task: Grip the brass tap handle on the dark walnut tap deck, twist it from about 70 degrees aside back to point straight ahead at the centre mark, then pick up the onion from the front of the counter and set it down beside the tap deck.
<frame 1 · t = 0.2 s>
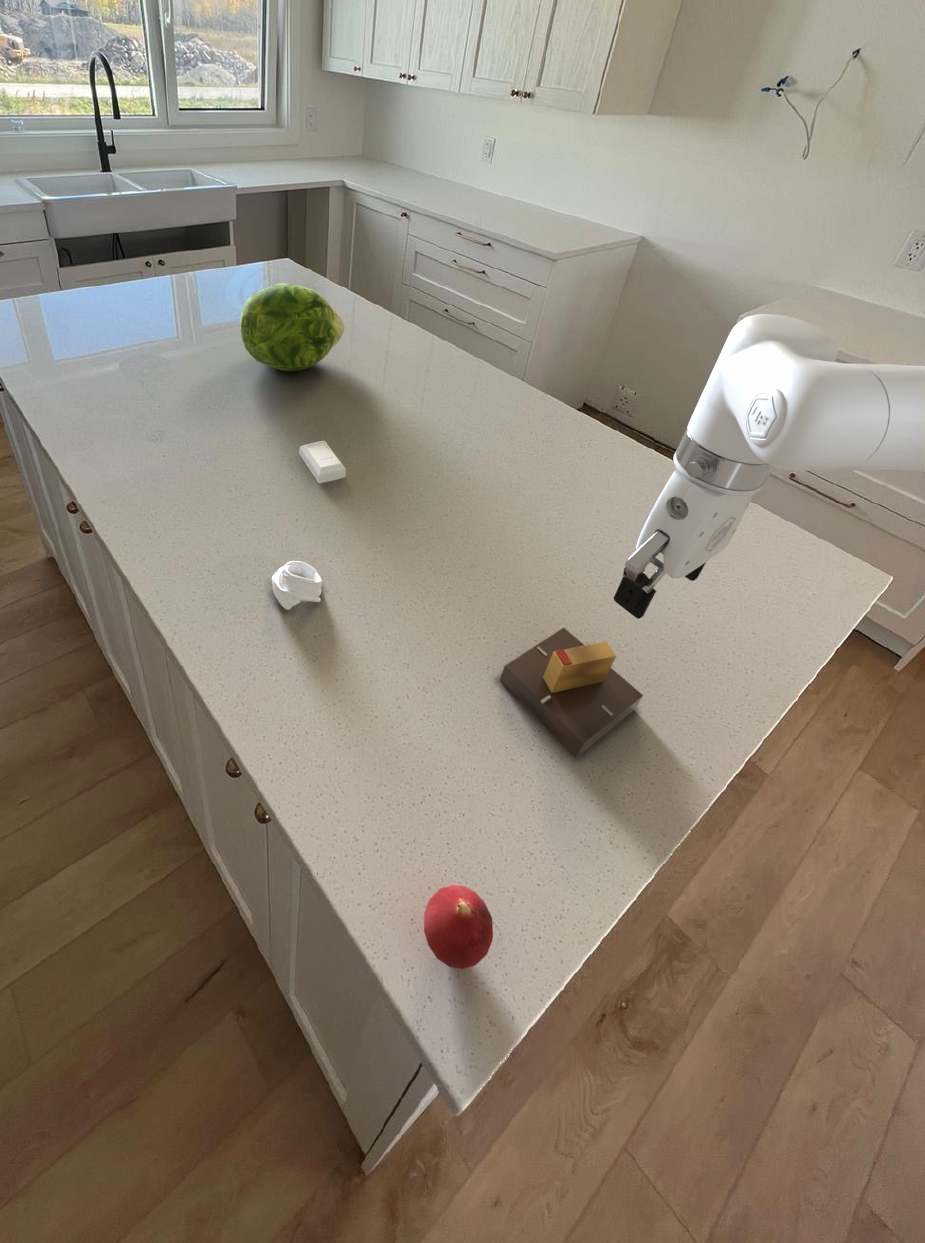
hand: (655, 589, 66), 19 cm above the countertop, tool pointing down, fingers open, 9 cm apart
tap deck: (566, 694, 77), on the countertop
lettuce: (292, 362, 142), on the countertop
tap handle: (579, 666, 74), point 6 cm above the countertop, hinge at 70.0°
onion: (450, 941, 56), on the countertop
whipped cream: (297, 591, 88), on the countertop
soap bar: (321, 466, 111), on the countertop
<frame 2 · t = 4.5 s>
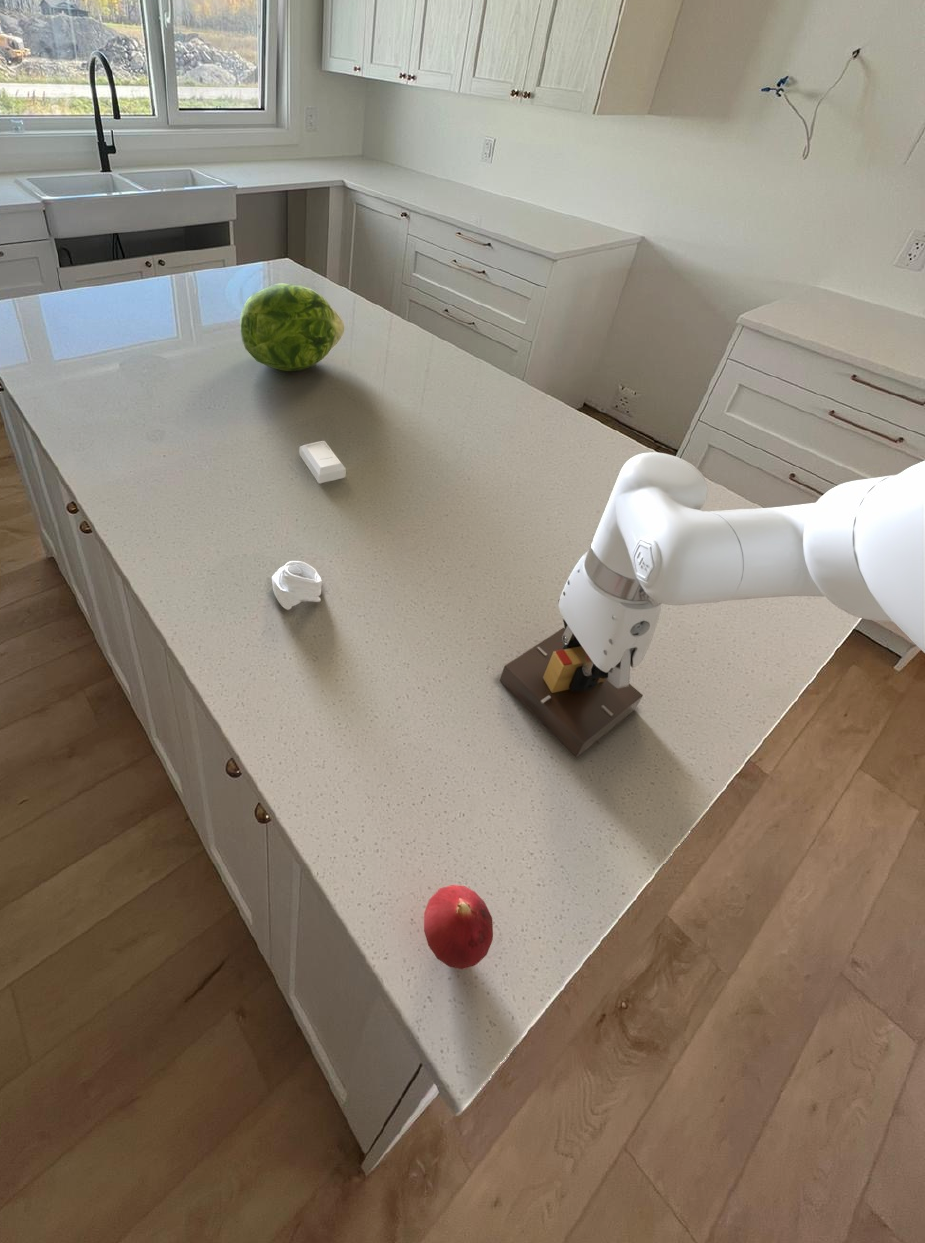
hand: (574, 676, 75), 4 cm above the countertop, tool pointing down, fingers closed on tap handle, 2 cm apart
tap handle: (579, 666, 74), point 6 cm above the countertop, hinge at 70.0°, touching gripper
everything else where it was.
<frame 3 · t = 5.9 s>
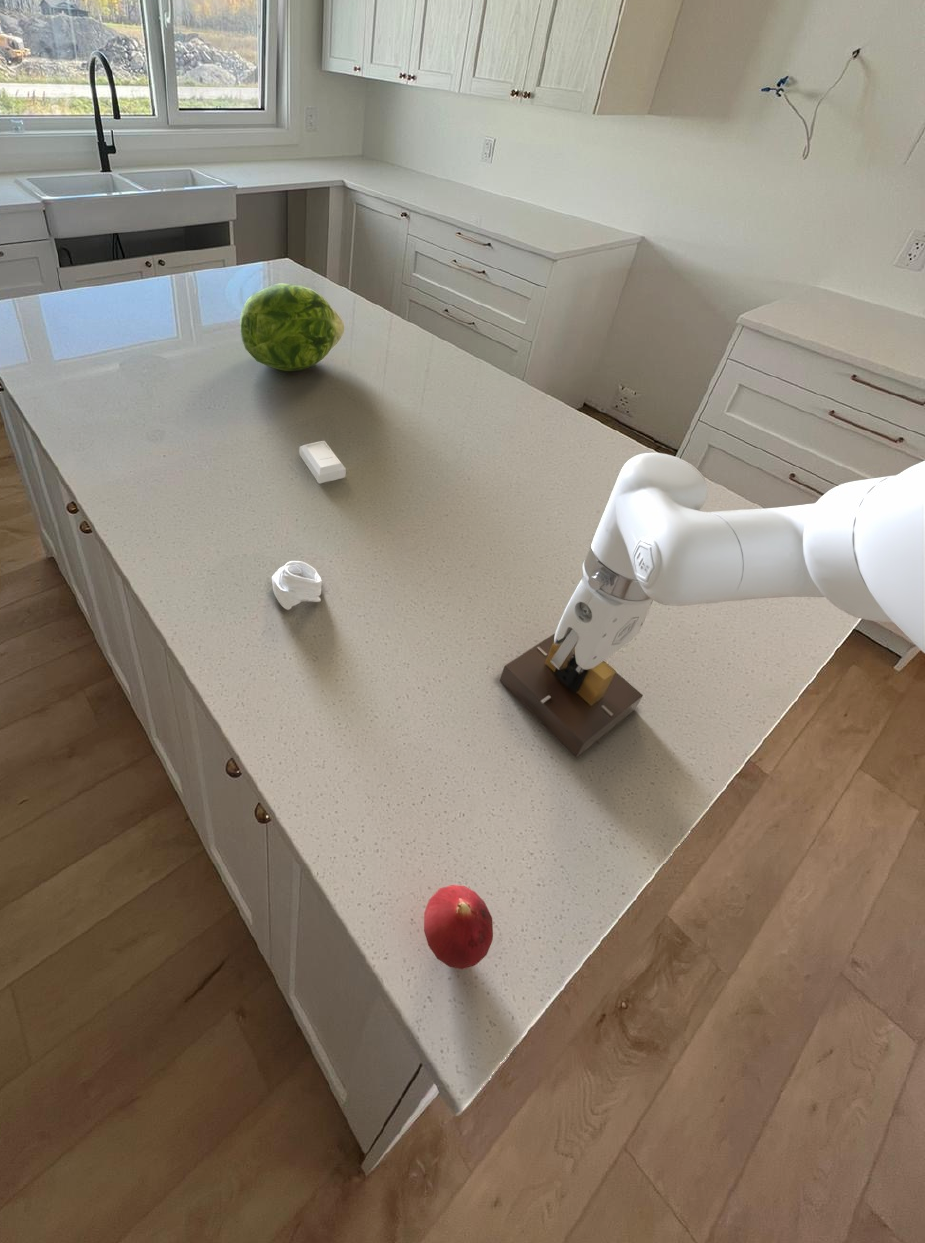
hand: (574, 676, 75), 4 cm above the countertop, tool pointing down, fingers closed on tap handle, 2 cm apart
tap handle: (579, 666, 74), point 6 cm above the countertop, hinge at 0.1°, touching gripper
everything else where it was.
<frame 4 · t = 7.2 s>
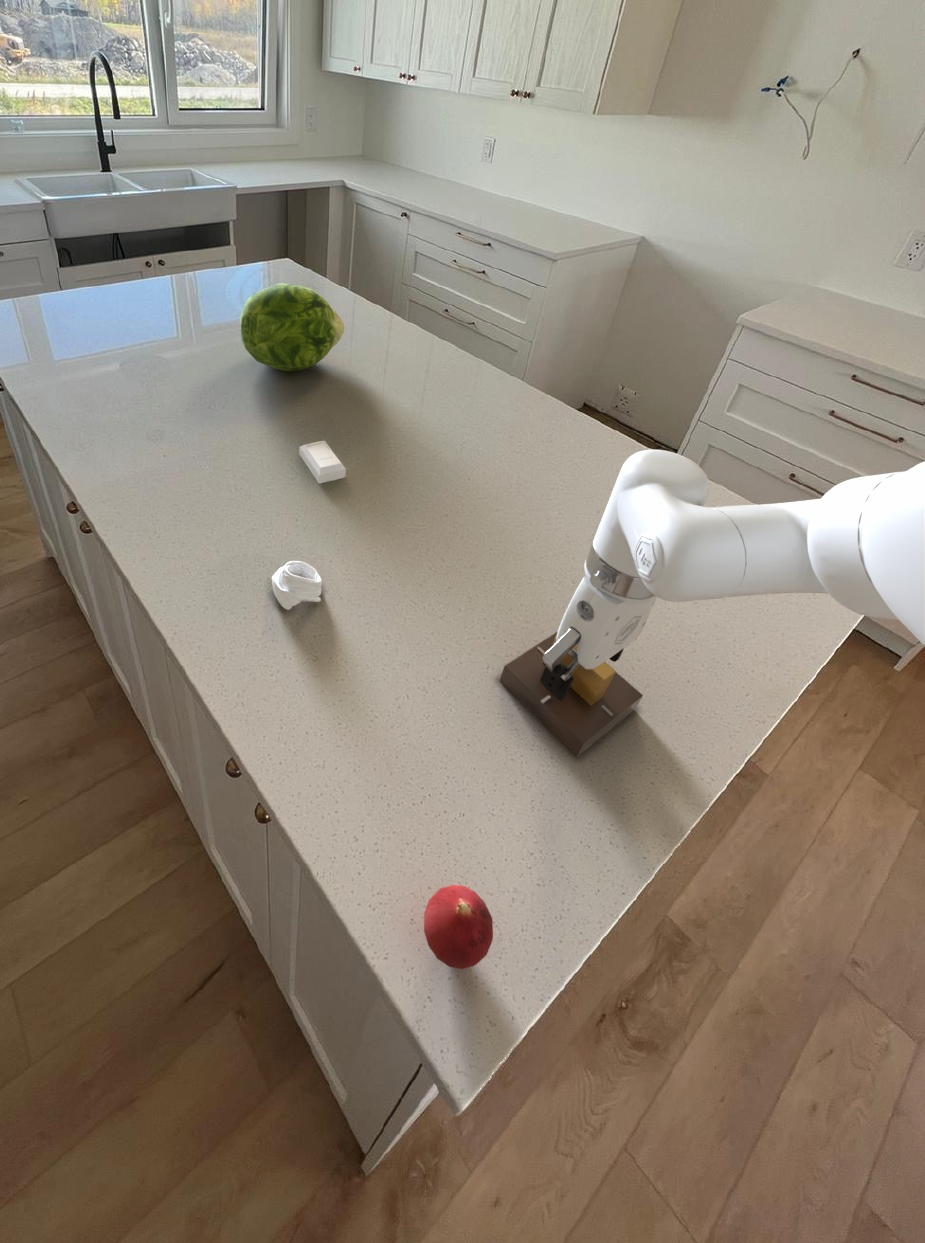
hand: (579, 671, 74), 5 cm above the countertop, tool pointing down, fingers open, 9 cm apart
tap handle: (579, 666, 74), point 6 cm above the countertop, hinge at 0.1°
everything else where it was.
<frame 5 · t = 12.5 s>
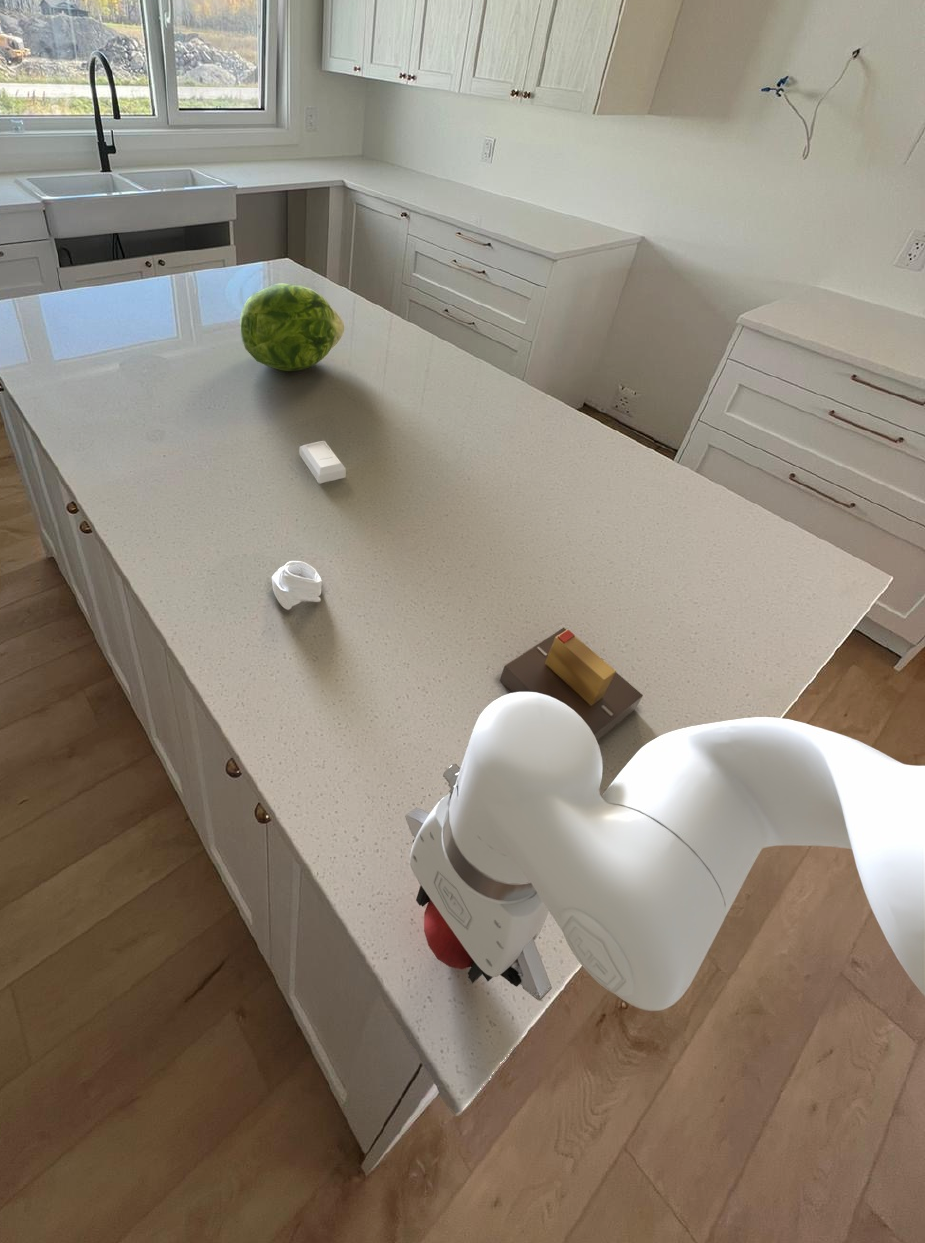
hand: (456, 928, 54), 3 cm above the countertop, tool pointing down, fingers closed on onion, 5 cm apart
onion: (450, 941, 56), on the countertop, touching gripper
everything else where it was.
when the fingers open (4 cm above the countertop, at t = 20.9 s): onion moves 4 cm, point 4 cm above the countertop.
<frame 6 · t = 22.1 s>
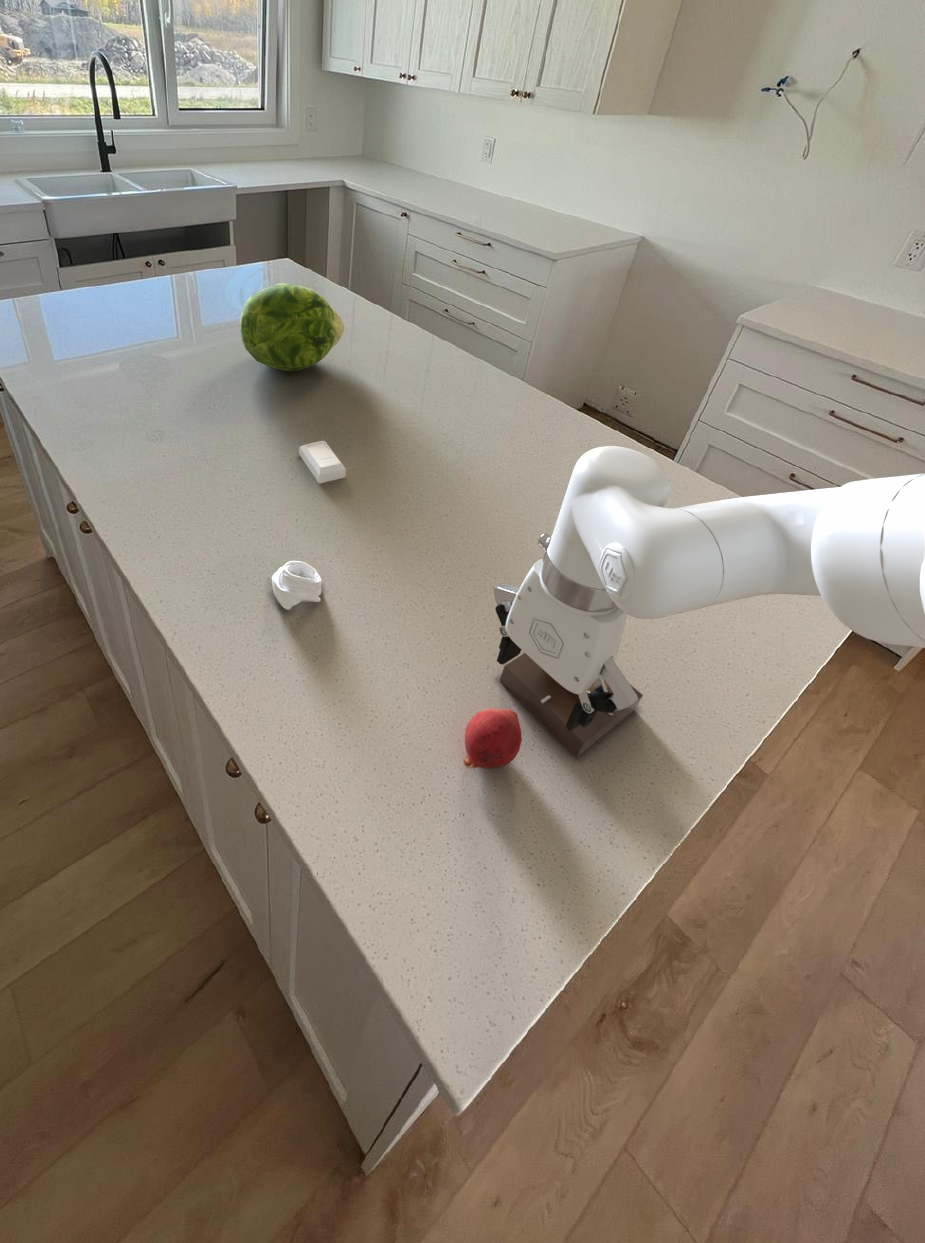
hand: (541, 688, 68), 8 cm above the countertop, tool pointing down, fingers open, 9 cm apart
onion: (516, 710, 70), point 4 cm above the countertop
everything else where it was.
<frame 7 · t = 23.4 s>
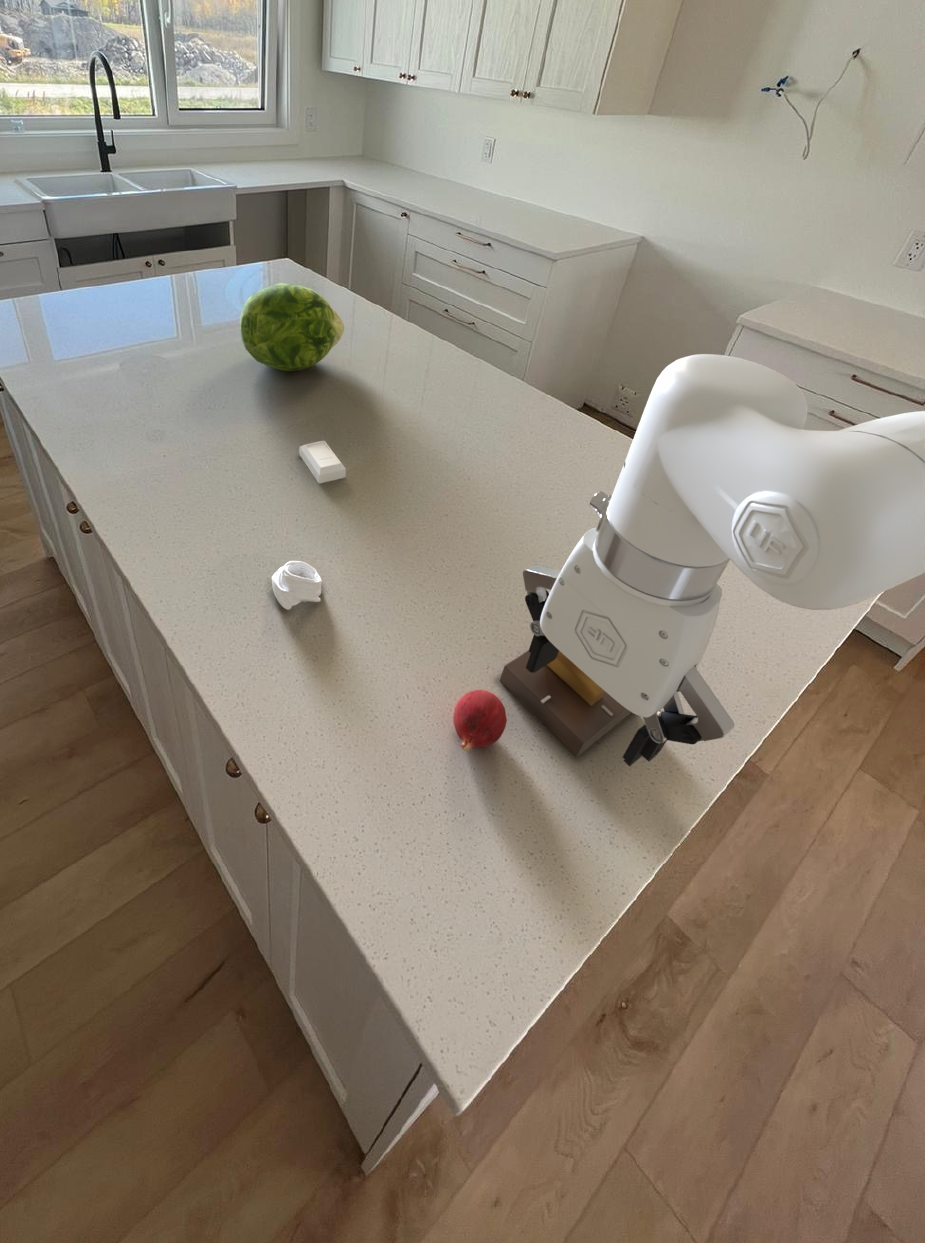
hand: (586, 706, 51), 22 cm above the countertop, tool pointing down, fingers open, 9 cm apart
onion: (491, 691, 73), point 3 cm above the countertop
everything else where it was.
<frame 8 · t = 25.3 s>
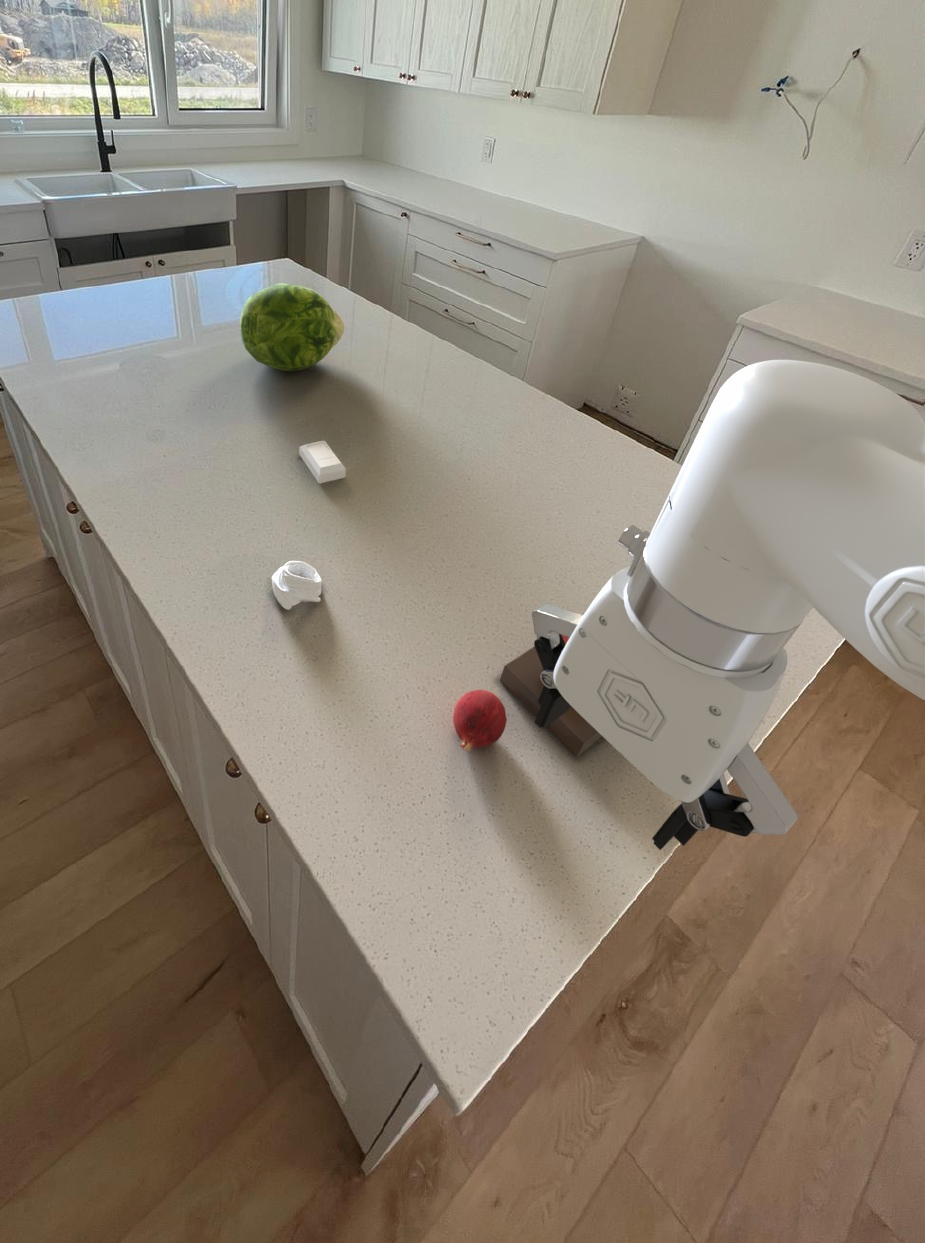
hand: (605, 770, 43), 25 cm above the countertop, tool pointing down, fingers open, 9 cm apart
nothing on the countertop moved.
at the end: tap handle at +0° (first picture: +70°); onion inside the target area on the countertop beside the tap deck (4.1 cm from its centre), point 2.9 cm above the countertop; the gripper is holding nothing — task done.
